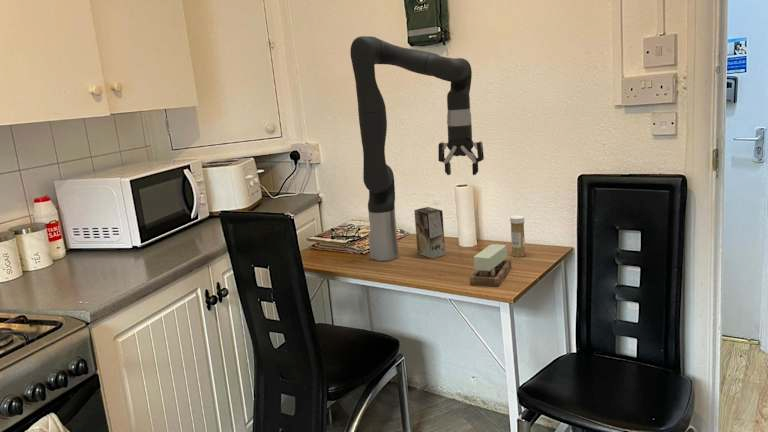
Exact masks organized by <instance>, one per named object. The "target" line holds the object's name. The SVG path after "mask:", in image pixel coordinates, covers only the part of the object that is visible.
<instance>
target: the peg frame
mask: <svg viewBox="0 0 768 432" xmlns="http://www.w3.org/2000/svg"><path fill="white" fill-rule="evenodd" d="M495 268H497V271H498V273H497V274H496V269H495ZM511 269H512V260H511V259H505V260H503V261H502V262H501V263H499V264H498V265H497V266H496V267H494V268H493V269H492V270H491V271H489V272H490V276H485V271H483V270H474V271H473V273H472V274H471V275H470V276H469V285H470V286H481V287H482V286H483V287H498V288H499V287H500V285H502V284H501V283H503V281H504V280H505V277H506V276H507V275H508V273H509V272H510V270H511Z"/></svg>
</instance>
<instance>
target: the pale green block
mask: <svg viewBox="0 0 768 432" xmlns="http://www.w3.org/2000/svg"><path fill="white" fill-rule="evenodd" d="M507 247H508V246H507V244H506V245H505V244H496V243H495V244H494V243H491V244H490V245H488V246H486V247H485V248H483V250H481V251H480V252H478V253H477V254H475V255H474V256H473V270H474V271H475V270H483V271H484V272H490V271H491V270H492V269H493V268H494V267H496V266H497V265H498V264H499V263H501V262H502V261H503V260H507V258H508V251H507V250H508V249H507Z"/></svg>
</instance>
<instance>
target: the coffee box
mask: <svg viewBox="0 0 768 432" xmlns="http://www.w3.org/2000/svg"><path fill="white" fill-rule="evenodd" d="M414 223H415V235H416V246H417V247H416V248H417V254H418V255H421V256H424V257H426V258H429V259H435V258H439V257H443V256H445V255H446V246H445V244H446V243H445V231H444V229H445V228H444V216H443V210H442V209H438V208H433V207H429V206H425V207H421V208H418V209H414Z"/></svg>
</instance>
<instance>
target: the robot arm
mask: <svg viewBox="0 0 768 432" xmlns="http://www.w3.org/2000/svg"><path fill="white" fill-rule="evenodd" d="M349 49H350V51H349V52H350V53H349V54H350V60H351V64H352V65H351V66H352V69H353V75H354V80H355V90H356V102H357V111H358V123H359V130H360V131H359V132H360V137H361V145H362V153H363V168H362V169H363V173H362V174H363V177H362V178H363V179H362V180H363V184H364V186H365V187H366V189H367V190H368V203H367V210H368V221H369V232H367V236H368V247H369V248H368V249H369V258H371V259H370V260H374V259H375V260H374V261H377V260H378V262H386V261H387V262H388V261H393V260H396V259H398V258H399V245H398V232H397V220H396V209H395V208H396V206H395V204H396V203H395V202H396V189H395V188H396V187H395V175H394V172H393V170H392V168H391V166H389V165H388V164H387V161H386V152H385V149H386V139H387V131H388V127H387V125H388V120H387V109H386V103H385V100H384V98H383V95H382V93H381V90H380V89H379V86H378V83H377V79H376V72H375V71H376V67H375V65H387V66H388V65H390V66H396V67H399V68H401V69H404V70H406V71H409V72H412V73H416V74H420V75H424V76H428V77H434V78H436V79H440V80H442V81H446V82H450V90H449V91H448V93H447V96H446V105H447V106H446V107H447V115H446V124H447V140H448V141H447V142H444V141H443V142H442V141H441V142H440V143H438V162H441V163H443V164H444V172H445V173H444V174H446V176H450V175H451V174H452V170H451V169H452V168H451V165H452V164H451V160H452V158H454V157H466V156H467V157H468V159H470V161H471V162H472V164H471V165H472V167H471V169H472V170H471V171H472V176H476V175H477V174H478V172H479V163H480V162H482V161H484V159H485V157H484V145H483V141H476V142H475V141H473V129H472V128H473V126H472V113H471V99H470V92H471V85H472V75H473V74H472V66H471V64H470V62H469V61H468V60H467V59H466V58H462V57H458V58H454V57H453V58H452V57H445V56H441V55H440V54H437V53H434V52H430V51H425V50H420V49H414V48H408V47H407V48H406V47H402V46H398V45H395V44H392V43H389V42H387V41H384V40H383V39H380V38H378V37H376V36H370V35H369V36H365V35H362V36H357V37H356V38H354V39H353V41H352V43H351V46H350V48H349ZM447 148H448V150H449V152H448V154H447V155H446V157H445V150H446V149H447ZM473 148H474V149H475V150H476V152H477V156H476V155H475V153H474V151H473V150H472V149H473Z"/></svg>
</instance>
